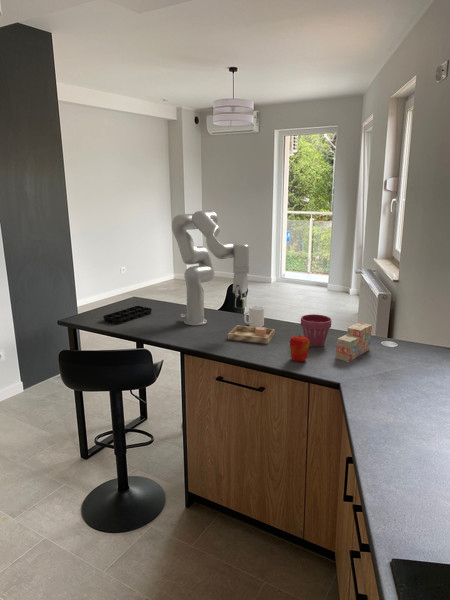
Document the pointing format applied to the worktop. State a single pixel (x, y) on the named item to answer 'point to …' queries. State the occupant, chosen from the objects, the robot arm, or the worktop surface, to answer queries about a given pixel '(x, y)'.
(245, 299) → the sage block
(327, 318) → the plant pot
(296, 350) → the apple
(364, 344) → the stack of blocks
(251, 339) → the oak tray
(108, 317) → the egg carton
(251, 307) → the cup
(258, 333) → the terracotta block
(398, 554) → the worktop surface
